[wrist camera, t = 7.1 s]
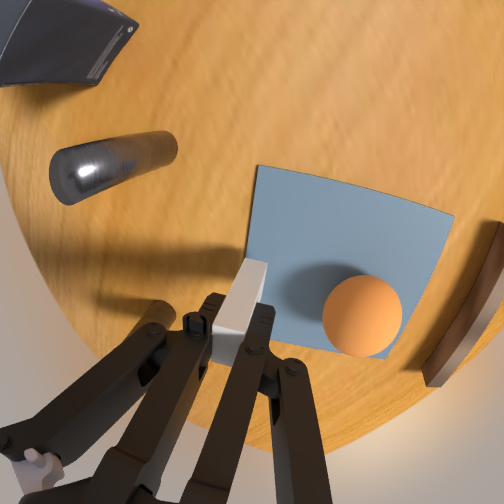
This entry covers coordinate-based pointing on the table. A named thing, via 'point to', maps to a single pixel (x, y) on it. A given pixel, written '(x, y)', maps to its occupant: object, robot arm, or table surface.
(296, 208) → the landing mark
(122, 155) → the post
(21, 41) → the small box
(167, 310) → the post
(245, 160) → the table surface
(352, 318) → the ball
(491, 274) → the stopper wall
